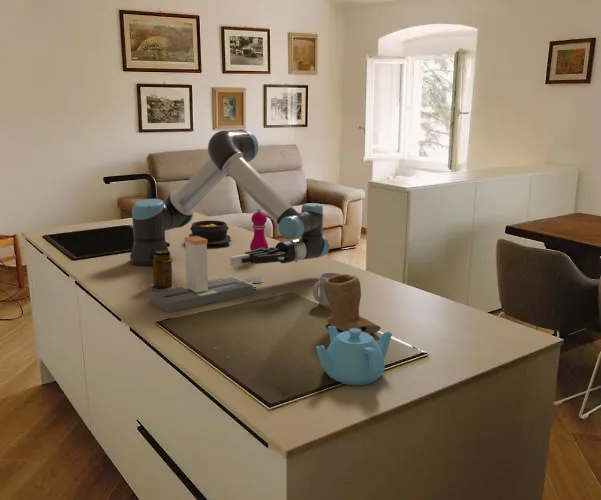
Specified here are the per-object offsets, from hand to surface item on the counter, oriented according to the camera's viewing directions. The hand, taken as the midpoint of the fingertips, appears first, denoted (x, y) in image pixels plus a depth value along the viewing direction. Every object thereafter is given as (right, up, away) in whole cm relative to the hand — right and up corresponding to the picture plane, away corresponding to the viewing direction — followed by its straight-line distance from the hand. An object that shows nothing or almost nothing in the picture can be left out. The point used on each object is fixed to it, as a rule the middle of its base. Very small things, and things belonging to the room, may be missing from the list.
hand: (231, 261), depth 191 cm
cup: (+30, -13, -8) cm, 34 cm away
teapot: (+34, -25, -55) cm, 69 cm away
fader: (-10, -9, -6) cm, 14 cm away
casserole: (-18, +7, +72) cm, 75 cm away
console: (-9, -11, -4) cm, 15 cm away
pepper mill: (+6, 0, +46) cm, 46 cm away
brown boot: (+35, -18, -28) cm, 49 cm away
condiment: (-24, -9, +7) cm, 26 cm away
